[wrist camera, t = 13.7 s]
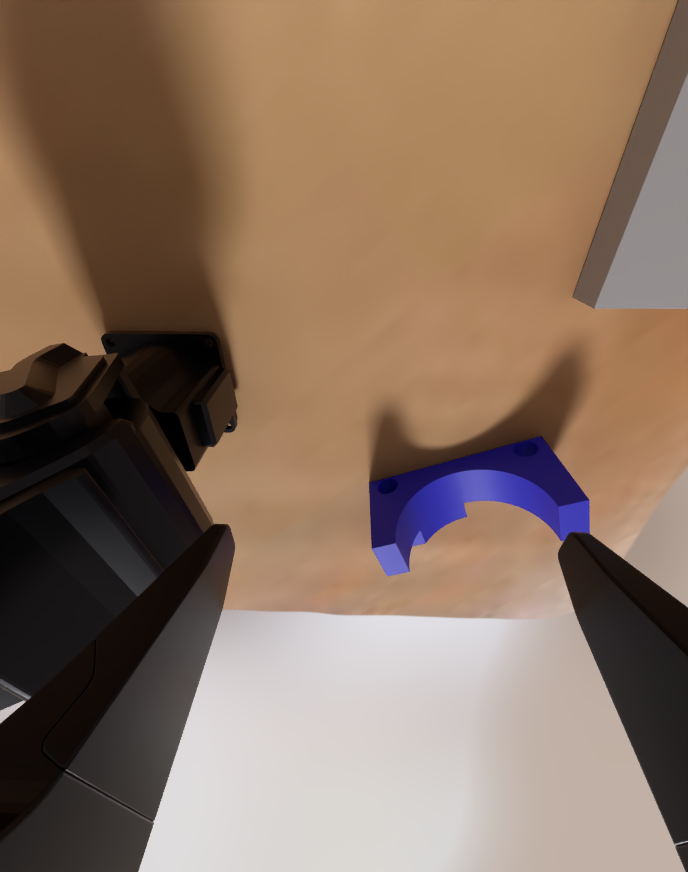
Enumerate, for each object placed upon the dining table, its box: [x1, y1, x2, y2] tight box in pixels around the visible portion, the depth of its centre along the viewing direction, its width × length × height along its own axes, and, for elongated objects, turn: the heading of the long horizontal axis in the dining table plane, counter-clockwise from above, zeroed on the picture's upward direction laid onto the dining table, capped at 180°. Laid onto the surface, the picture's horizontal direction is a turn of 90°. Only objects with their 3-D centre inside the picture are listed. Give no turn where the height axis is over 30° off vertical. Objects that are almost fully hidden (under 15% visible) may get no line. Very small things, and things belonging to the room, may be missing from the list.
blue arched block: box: [369, 436, 590, 576], centre depth 23 cm, size 12×4×6 cm, turn 112°
